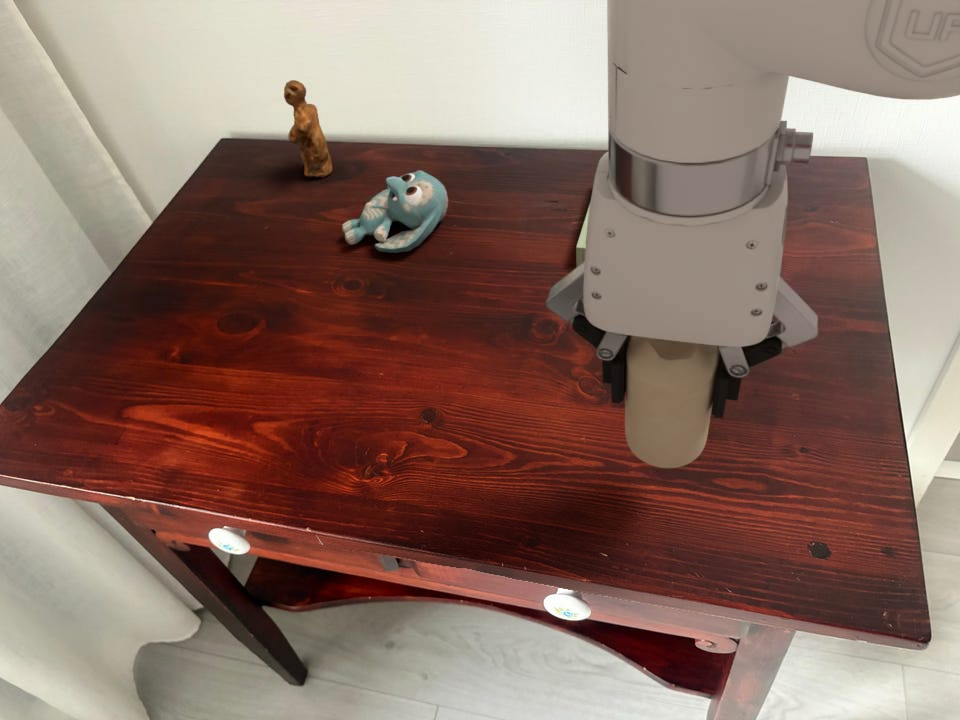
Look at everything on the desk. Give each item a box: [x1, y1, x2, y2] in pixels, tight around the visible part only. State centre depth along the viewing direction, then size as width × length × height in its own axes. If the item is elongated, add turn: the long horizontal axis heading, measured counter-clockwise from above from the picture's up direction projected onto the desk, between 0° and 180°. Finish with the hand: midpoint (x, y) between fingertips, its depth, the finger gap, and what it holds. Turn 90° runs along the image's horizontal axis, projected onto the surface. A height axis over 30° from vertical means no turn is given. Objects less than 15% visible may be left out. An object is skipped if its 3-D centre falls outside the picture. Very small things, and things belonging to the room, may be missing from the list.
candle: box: [624, 336, 720, 469], centre depth 48 cm, size 6×6×10 cm
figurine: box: [283, 79, 334, 179], centre depth 87 cm, size 5×6×12 cm
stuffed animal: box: [341, 169, 449, 254], centre depth 80 cm, size 11×7×12 cm
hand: (669, 391), depth 48 cm, fingers closed on candle, 5 cm apart
